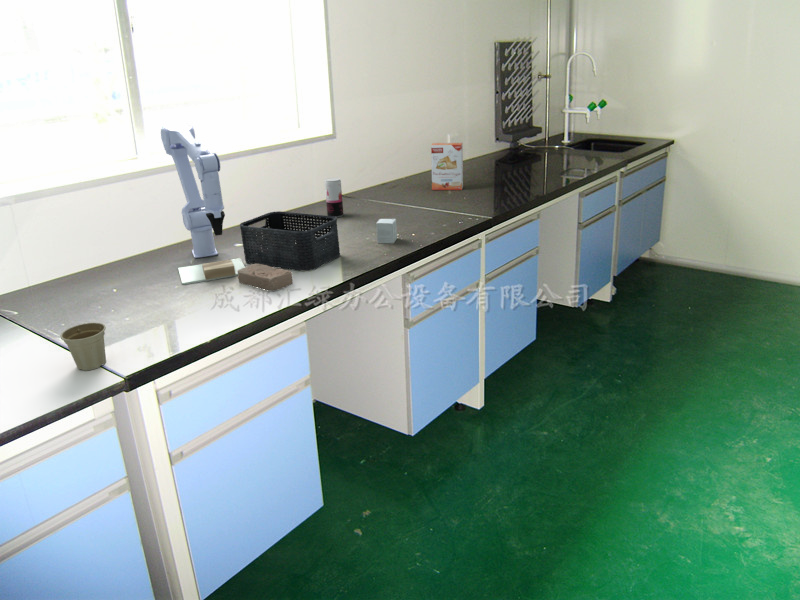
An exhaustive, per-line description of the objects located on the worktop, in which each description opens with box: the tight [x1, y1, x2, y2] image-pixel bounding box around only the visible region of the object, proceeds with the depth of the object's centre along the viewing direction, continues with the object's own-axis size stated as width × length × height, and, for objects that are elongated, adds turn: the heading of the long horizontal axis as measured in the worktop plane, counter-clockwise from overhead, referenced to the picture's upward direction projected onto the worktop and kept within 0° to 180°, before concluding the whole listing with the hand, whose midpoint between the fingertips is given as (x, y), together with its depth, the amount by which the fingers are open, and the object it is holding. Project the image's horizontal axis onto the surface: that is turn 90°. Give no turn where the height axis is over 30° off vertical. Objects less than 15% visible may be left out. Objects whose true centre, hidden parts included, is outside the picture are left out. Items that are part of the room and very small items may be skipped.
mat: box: [177, 257, 246, 285], centre depth 209 cm, size 16×20×1 cm
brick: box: [237, 264, 294, 292], centre depth 197 cm, size 17×8×5 cm, turn 51°
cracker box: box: [430, 142, 464, 191], centre depth 301 cm, size 14×6×21 cm, turn 81°
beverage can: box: [324, 177, 344, 218], centre depth 266 cm, size 6×7×15 cm
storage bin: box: [239, 210, 341, 272], centre depth 216 cm, size 29×19×13 cm
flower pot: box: [60, 322, 107, 371], centre depth 150 cm, size 9×9×9 cm
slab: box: [201, 259, 236, 280], centre depth 205 cm, size 3×9×7 cm
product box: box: [375, 218, 398, 244], centre depth 231 cm, size 6×6×7 cm
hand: (218, 234), depth 211 cm, fingers closed
